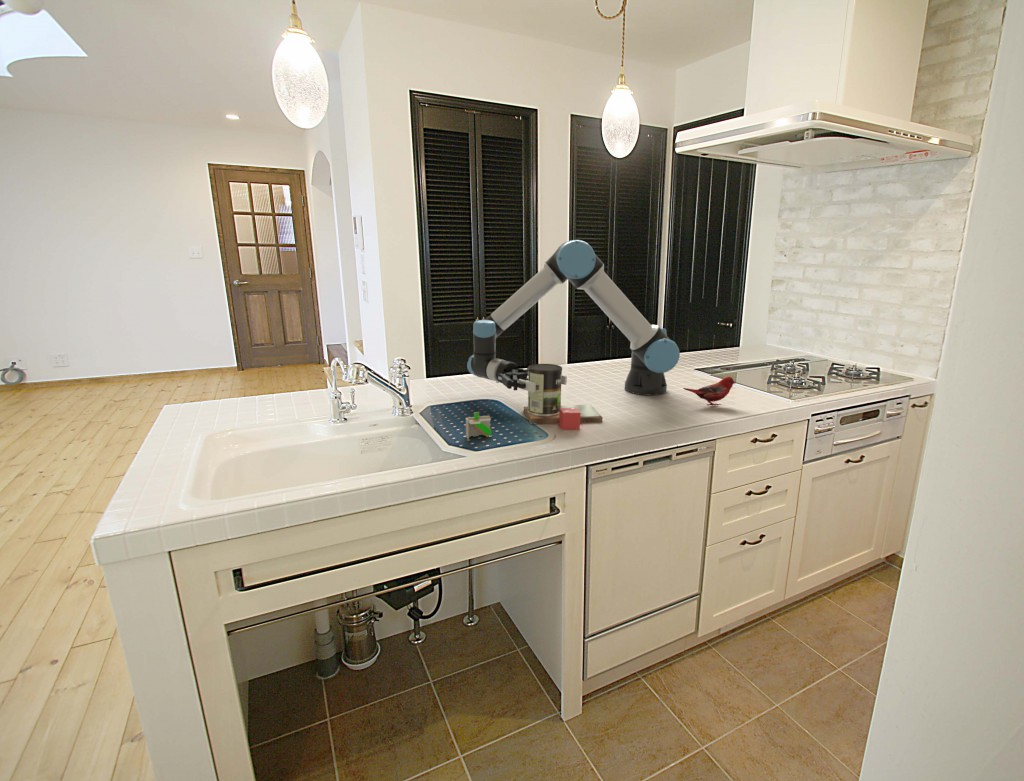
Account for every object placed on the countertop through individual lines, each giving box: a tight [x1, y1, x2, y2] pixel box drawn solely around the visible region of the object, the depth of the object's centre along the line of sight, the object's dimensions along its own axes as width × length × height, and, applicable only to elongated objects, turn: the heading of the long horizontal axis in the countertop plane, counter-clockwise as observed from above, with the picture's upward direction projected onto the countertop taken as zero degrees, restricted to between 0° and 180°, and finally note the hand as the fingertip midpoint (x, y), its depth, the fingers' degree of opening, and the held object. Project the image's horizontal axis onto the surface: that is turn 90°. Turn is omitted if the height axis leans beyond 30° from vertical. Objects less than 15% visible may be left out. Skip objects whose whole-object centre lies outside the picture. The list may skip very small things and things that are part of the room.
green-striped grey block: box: [465, 411, 492, 440], centre depth 143 cm, size 4×7×8 cm, turn 109°
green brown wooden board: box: [523, 404, 603, 425], centre depth 163 cm, size 22×13×2 cm, turn 98°
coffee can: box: [527, 363, 563, 416], centre depth 160 cm, size 10×10×14 cm
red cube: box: [558, 408, 581, 431], centre depth 153 cm, size 5×5×5 cm
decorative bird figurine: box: [682, 376, 736, 406], centre depth 174 cm, size 3×18×10 cm, turn 93°
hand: (550, 384), depth 158 cm, fingers open, 13 cm apart
